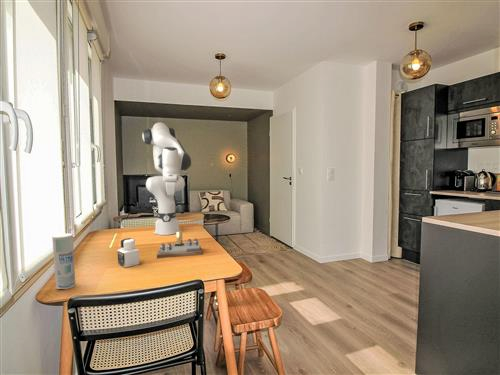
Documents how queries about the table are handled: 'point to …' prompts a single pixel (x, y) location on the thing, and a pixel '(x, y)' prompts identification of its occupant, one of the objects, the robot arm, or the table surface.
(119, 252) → the medicine bottle
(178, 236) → the pin
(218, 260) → the table surface
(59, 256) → the spray can
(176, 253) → the chain base
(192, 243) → the chain end right
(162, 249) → the chain end left
